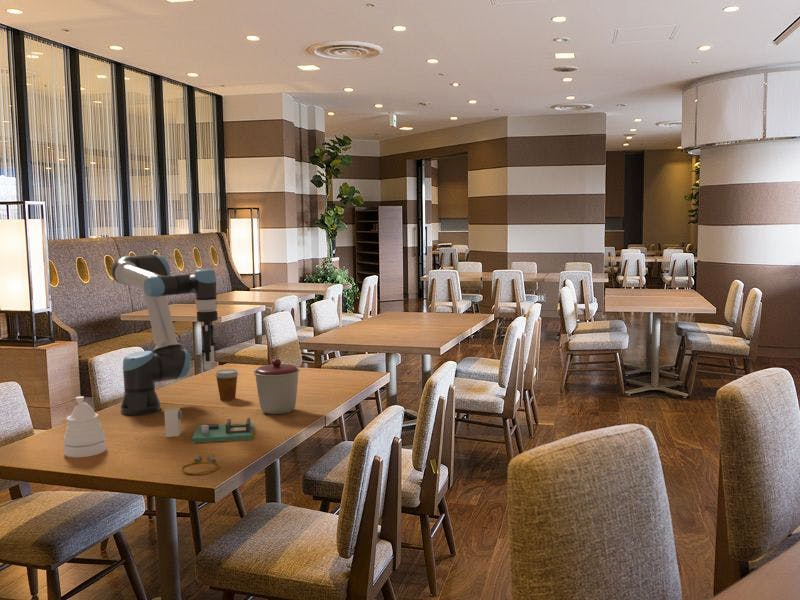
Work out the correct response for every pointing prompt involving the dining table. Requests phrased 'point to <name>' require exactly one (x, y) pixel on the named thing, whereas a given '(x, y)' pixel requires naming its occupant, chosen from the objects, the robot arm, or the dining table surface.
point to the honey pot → (83, 432)
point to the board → (223, 432)
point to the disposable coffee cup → (227, 384)
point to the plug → (172, 422)
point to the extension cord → (197, 458)
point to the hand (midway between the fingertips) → (209, 366)
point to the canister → (277, 387)
